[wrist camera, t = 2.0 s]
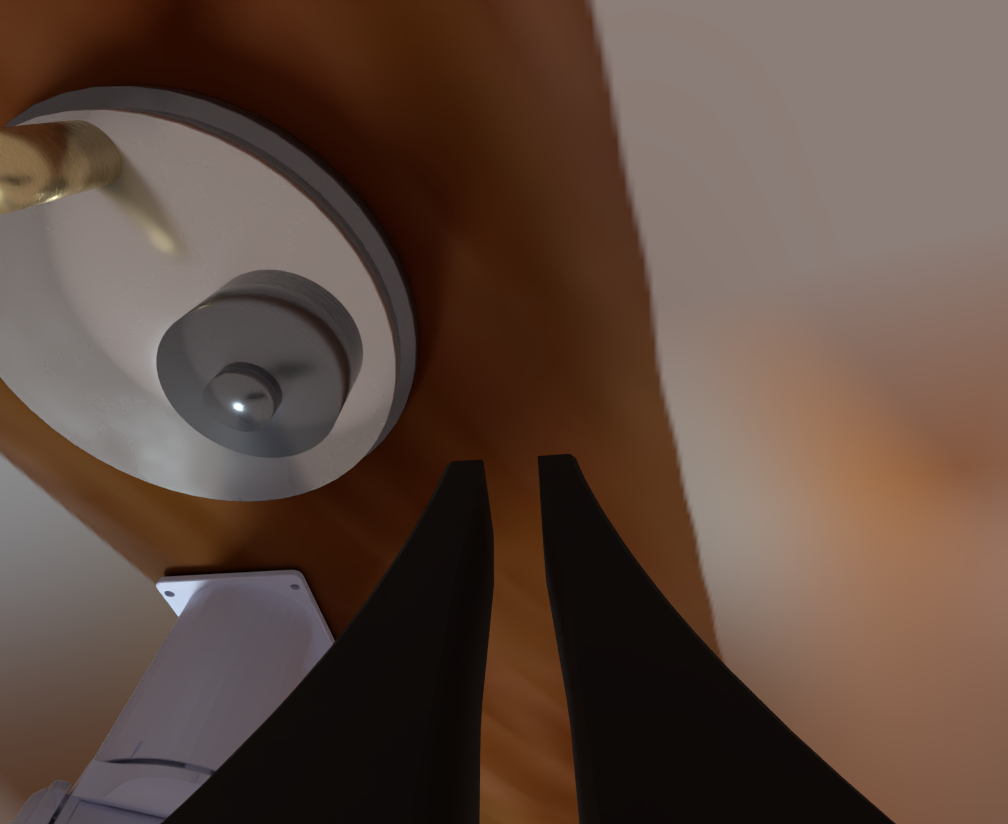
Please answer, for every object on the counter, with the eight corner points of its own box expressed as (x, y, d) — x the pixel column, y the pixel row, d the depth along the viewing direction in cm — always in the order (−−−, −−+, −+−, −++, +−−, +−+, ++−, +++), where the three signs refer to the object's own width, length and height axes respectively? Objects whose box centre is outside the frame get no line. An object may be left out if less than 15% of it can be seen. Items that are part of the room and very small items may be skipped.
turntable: (430, 471, 21) (413, 559, 18) (118, 491, 22) (36, 580, 18) (344, 82, 14) (280, 86, 10) (-133, 132, 14) (-371, 154, 10)
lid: (377, 400, 18) (351, 469, 15) (243, 409, 18) (189, 479, 15) (341, 262, 15) (298, 311, 12) (182, 276, 15) (100, 328, 12)
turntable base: (446, 461, 23) (444, 476, 22) (130, 482, 23) (116, 496, 23) (368, 59, 14) (359, 58, 14) (-120, 111, 15) (-156, 113, 14)
